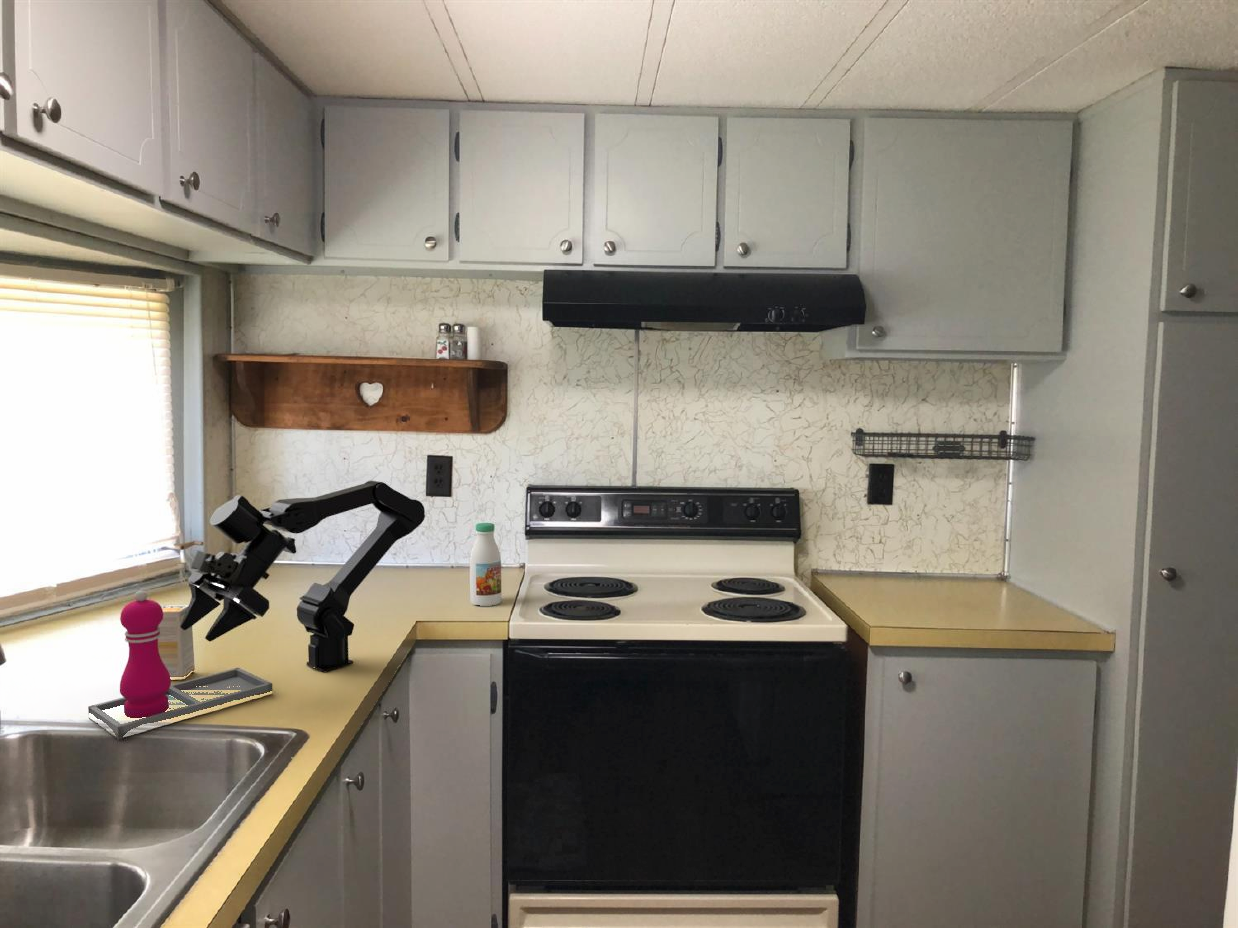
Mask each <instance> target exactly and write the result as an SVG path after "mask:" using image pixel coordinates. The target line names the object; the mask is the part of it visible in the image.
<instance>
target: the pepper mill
mask: <svg viewBox="0 0 1238 928" xmlns="http://www.w3.org/2000/svg"><path fill="white" fill-rule="evenodd" d="M147 598H148V593H147V592H146V591H145V590H138V591H136V593H134V600H133V601H131V602H129V603H127V604H126V605H125V606H124V607H123V608H122V610H121V611H120V617H119V620H120V625H122V627H123V628H124V629H125V630H126V631H125V632H124V636H125V638H124V641H125V642H127V643H128V659H127V662H126V665H125V667H124V669H123V672H122V675H121V678H120V682H119V693H120V695H121V696H122V698H123V697H124V698H125V699H127V700H128V701H127V702H125V704H124V713H125V715H126V716H127V717H130V718H142V717H149V716H153V715H156V714H160V713H163V712H165V711H166V710H167V709H168V707H169V702H168V696H166V695H164V694H165V693H166V692H167V691H168V689H169V688H170V686H171V685H172V680H171V679H170V674H169V672H168V670H167V668H166V666H165V665H164V663H163V661H162V659H161V657H160V654H159V650H158V638H159V637H160V636H161V634H160V630H161V629H160V628H159V627H158V625H159V624H160V623H161V621H162V620H163V610H162V607H161V606H160V603H158V602H157V601H155V600H152V599H147Z"/></svg>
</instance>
